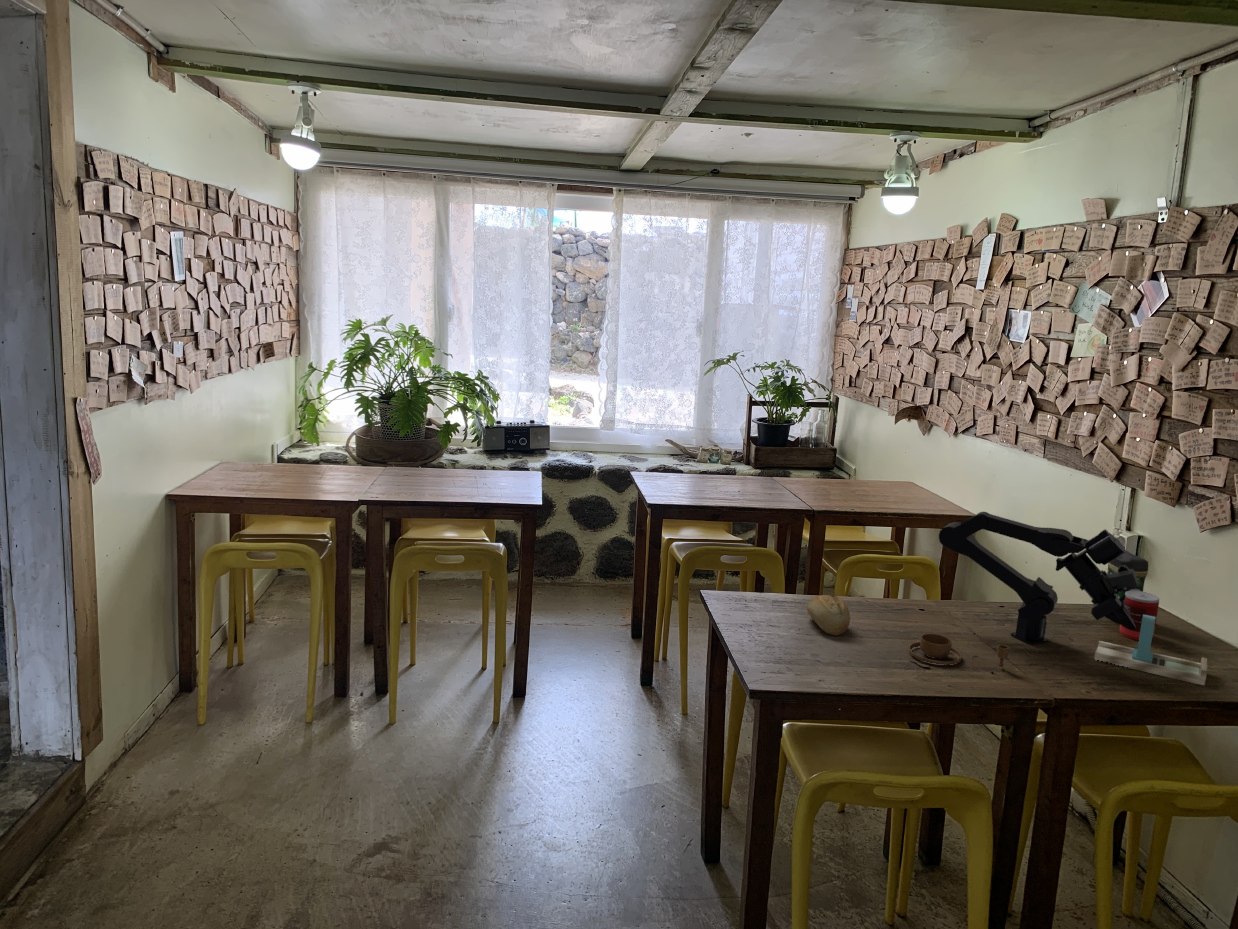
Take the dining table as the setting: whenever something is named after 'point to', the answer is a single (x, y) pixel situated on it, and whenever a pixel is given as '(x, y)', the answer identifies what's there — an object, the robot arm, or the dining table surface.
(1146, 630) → the slider
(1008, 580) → the robot arm
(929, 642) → the place setting
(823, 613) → the bread roll
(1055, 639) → the dining table surface
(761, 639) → the dining table surface
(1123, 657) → the box
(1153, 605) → the canned food
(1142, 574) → the coffee jar
